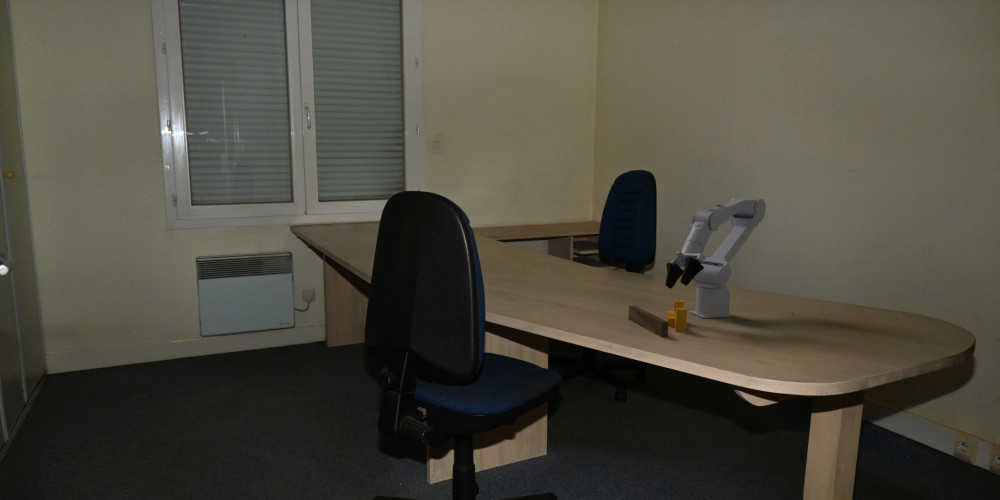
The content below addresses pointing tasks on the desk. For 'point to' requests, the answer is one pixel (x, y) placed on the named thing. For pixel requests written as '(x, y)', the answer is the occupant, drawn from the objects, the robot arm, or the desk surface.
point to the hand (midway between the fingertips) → (675, 285)
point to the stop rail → (648, 321)
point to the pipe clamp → (677, 316)
